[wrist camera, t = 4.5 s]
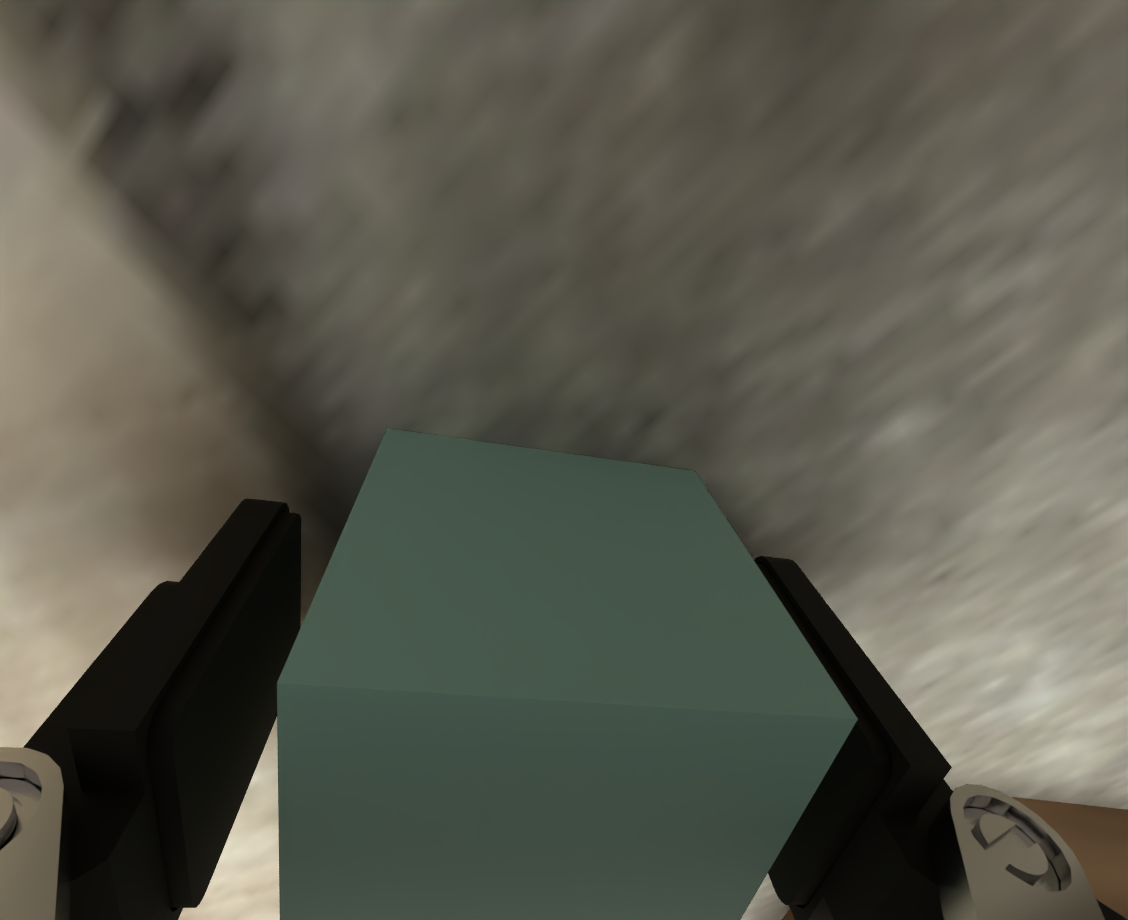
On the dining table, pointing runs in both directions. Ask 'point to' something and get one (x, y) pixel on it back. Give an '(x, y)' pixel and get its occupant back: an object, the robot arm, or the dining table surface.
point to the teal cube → (542, 698)
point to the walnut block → (1089, 846)
